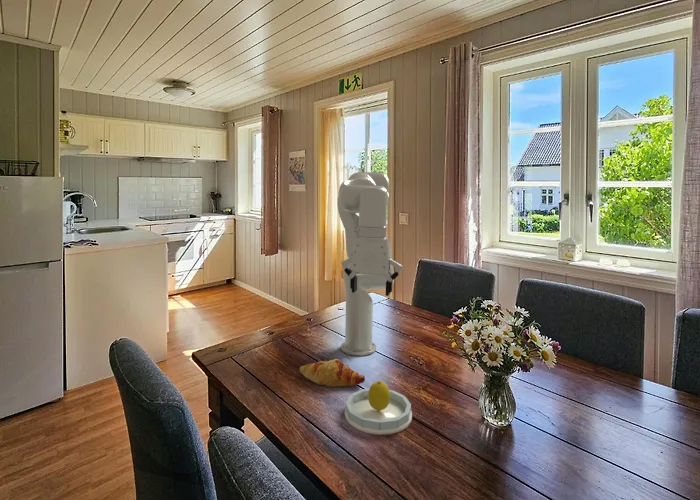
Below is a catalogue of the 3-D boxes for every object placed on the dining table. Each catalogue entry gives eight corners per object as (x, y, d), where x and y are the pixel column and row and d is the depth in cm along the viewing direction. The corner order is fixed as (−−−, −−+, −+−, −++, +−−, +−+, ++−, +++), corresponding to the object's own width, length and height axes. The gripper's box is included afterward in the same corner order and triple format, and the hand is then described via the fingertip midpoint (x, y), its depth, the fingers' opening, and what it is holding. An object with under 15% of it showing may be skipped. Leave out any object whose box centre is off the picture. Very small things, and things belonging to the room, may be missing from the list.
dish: (355, 393, 114) (355, 383, 114) (416, 403, 109) (416, 392, 109) (335, 427, 98) (335, 415, 97) (406, 440, 93) (406, 428, 93)
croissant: (295, 388, 124) (289, 372, 119) (308, 362, 131) (302, 345, 127) (362, 401, 116) (357, 383, 112) (371, 372, 124) (367, 354, 119)
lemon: (388, 418, 100) (389, 387, 99) (366, 415, 101) (366, 385, 100) (390, 406, 106) (391, 377, 104) (369, 404, 107) (370, 375, 106)
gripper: (338, 232, 110) (337, 293, 113) (401, 236, 106) (399, 299, 109) (346, 229, 118) (345, 286, 121) (406, 232, 113) (403, 292, 116)
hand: (370, 292), depth 115 cm, fingers open, 9 cm apart
